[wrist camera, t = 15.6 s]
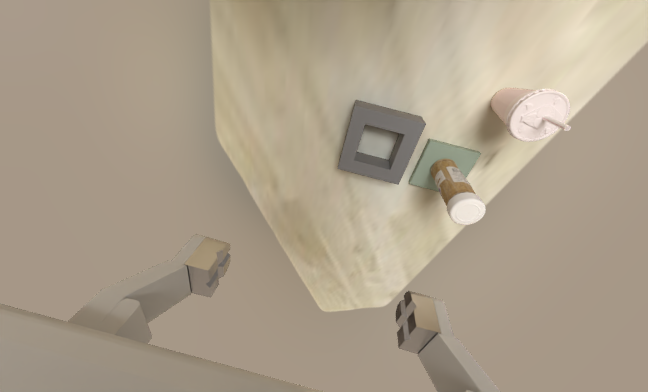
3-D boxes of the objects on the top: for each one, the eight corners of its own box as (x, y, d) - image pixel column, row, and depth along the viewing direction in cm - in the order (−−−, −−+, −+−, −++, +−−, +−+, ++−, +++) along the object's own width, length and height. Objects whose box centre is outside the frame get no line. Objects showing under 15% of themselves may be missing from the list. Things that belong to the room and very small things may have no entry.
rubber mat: (429, 138, 44) (430, 140, 43) (478, 151, 44) (481, 153, 43) (408, 181, 49) (409, 183, 48) (453, 192, 49) (454, 195, 48)
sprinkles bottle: (424, 168, 46) (443, 211, 35) (447, 152, 44) (475, 193, 32) (439, 184, 47) (461, 231, 36) (462, 169, 45) (493, 214, 34)
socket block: (356, 99, 42) (354, 105, 39) (421, 116, 42) (425, 123, 39) (339, 159, 48) (337, 168, 45) (396, 174, 48) (398, 184, 45)
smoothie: (521, 118, 40) (584, 154, 28) (477, 122, 41) (520, 157, 30) (534, 75, 36) (610, 94, 25) (485, 80, 38) (537, 101, 26)
